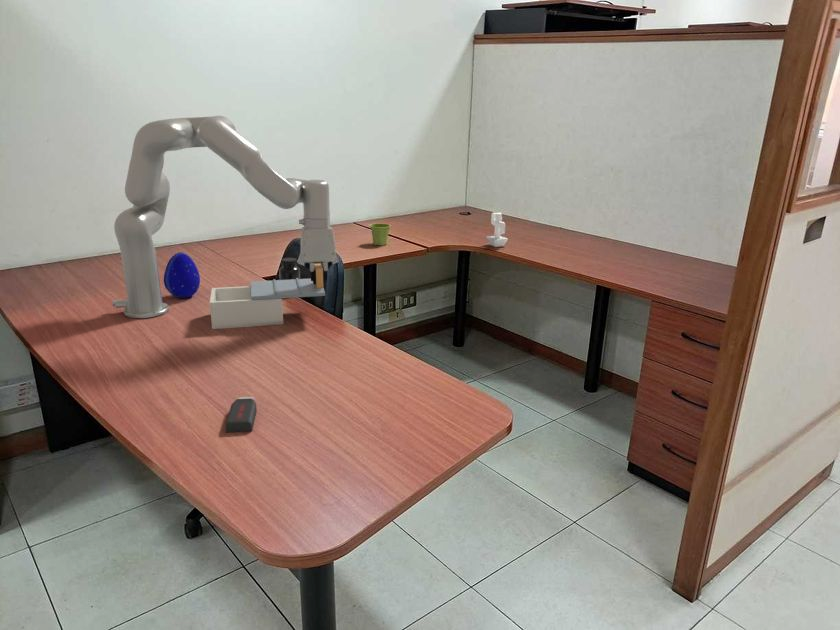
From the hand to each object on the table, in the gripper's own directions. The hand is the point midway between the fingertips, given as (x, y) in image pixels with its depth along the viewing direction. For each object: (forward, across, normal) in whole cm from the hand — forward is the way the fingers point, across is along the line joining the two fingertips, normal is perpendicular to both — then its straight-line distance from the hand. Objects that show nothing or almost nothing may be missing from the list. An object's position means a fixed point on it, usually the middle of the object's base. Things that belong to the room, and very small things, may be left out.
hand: (318, 282), depth 188 cm
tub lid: (+2, -10, 0) cm, 10 cm away
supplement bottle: (+10, -8, +22) cm, 25 cm away
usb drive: (+11, -23, -61) cm, 66 cm away
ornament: (+10, -42, +25) cm, 50 cm away
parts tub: (+10, -22, 0) cm, 24 cm away
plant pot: (+10, +36, +87) cm, 95 cm away
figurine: (+10, +88, +76) cm, 117 cm away
